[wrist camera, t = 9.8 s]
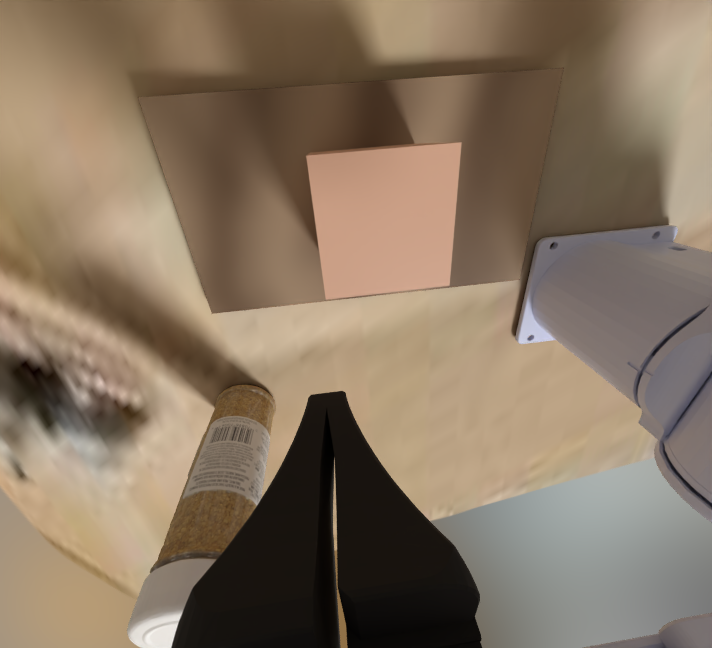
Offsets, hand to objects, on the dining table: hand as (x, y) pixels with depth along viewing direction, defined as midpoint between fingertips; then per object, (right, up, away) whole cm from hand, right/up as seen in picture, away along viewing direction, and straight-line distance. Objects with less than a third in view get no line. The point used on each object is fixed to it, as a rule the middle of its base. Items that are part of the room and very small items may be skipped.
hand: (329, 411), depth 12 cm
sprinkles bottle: (-8, -3, +12) cm, 15 cm away
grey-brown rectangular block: (+1, +10, +6) cm, 12 cm away
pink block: (+2, +10, +5) cm, 11 cm away
